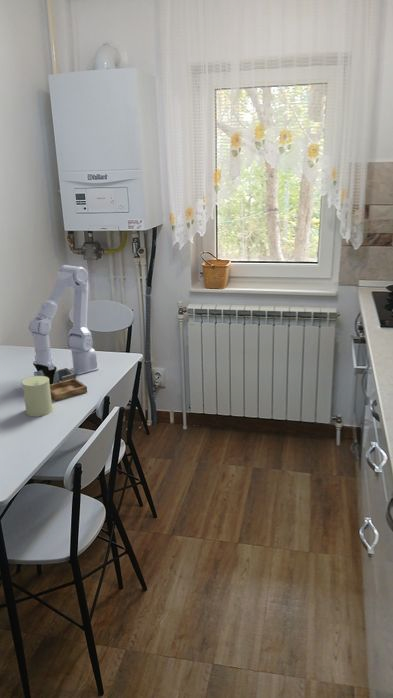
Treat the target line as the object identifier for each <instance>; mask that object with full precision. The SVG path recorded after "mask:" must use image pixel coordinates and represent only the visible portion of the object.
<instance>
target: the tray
mask: <svg viewBox="0 0 393 698" xmlns="http://www.w3.org/2000/svg"><path fill="white" fill-rule="evenodd" d="M50 393H51V400H53V401H55V402H58V401H62V400H66V399H70V398H72V397H76V396H80V395H82V394H87V393H88V387H87V385H85V384H84V383H83V382H82V381H79V379H77V378H76V379H75V378H73V379H70V380H66V381H62V380H61V381H59V382H58V383H55V384H51V385H50Z"/></svg>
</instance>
